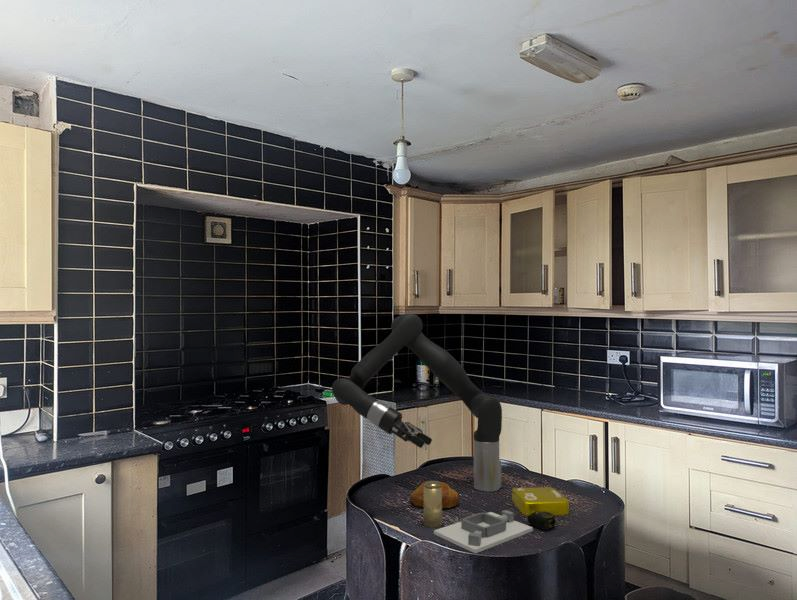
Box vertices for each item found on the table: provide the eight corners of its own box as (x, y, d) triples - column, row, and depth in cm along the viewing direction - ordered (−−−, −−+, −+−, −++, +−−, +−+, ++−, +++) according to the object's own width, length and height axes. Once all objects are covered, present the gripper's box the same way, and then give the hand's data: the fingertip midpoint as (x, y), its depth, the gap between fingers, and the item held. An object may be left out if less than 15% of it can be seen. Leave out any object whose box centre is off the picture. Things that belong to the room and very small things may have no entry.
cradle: (490, 515, 167) (490, 503, 167) (532, 530, 154) (532, 518, 154) (433, 534, 152) (433, 521, 152) (475, 553, 139) (475, 539, 139)
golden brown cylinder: (433, 518, 164) (433, 479, 164) (445, 524, 159) (445, 483, 160) (419, 523, 160) (419, 482, 161) (432, 528, 156) (432, 487, 156)
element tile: (571, 515, 167) (571, 500, 167) (524, 517, 166) (524, 501, 166) (553, 499, 182) (553, 485, 182) (510, 500, 181) (510, 486, 181)
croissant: (455, 519, 169) (458, 494, 169) (406, 508, 173) (410, 484, 172) (459, 502, 184) (462, 479, 183) (414, 493, 187) (417, 470, 187)
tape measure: (526, 525, 159) (526, 513, 159) (542, 520, 162) (541, 508, 163) (544, 533, 153) (544, 520, 153) (560, 528, 157) (560, 515, 157)
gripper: (381, 407, 165) (426, 435, 159) (397, 405, 178) (438, 431, 172) (370, 428, 165) (414, 457, 159) (386, 425, 178) (427, 451, 173)
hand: (427, 443), depth 166 cm, fingers open, 8 cm apart
